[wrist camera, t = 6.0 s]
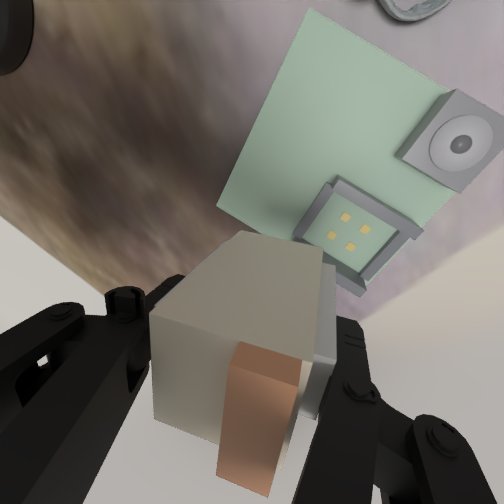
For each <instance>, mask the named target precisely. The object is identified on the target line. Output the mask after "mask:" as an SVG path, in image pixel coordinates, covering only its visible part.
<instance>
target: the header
mask: <svg viewBox="0 0 504 504" xmlns="http://www.w3.org/2000/svg"><path fill="white" fill-rule="evenodd" d="M334 192H336V193H337V194H339V195H341V196H342V197H344V198H346V199H347V200H349V201H351V202H352V203H354V204H356V205H357V206H359V207H361V208H362V209H364V210H365V211H367V212H369V213H370V214H372V215H374V216H375V217H377V218H379V219H380V220H382V221H384V222H385V223H387V224H388V225H390V226H392V227H393V228H395V229H397V231H396V232H395V233H394V234H393V235H392V237H391V238H390V239H389V240H388V241H387V242H386V243H385V244H384V245H383V247H382V248H381V249H380V250H379V251H378V252H377V253H376V254H375V255H374V256H373V258H372V259H371V260H370V261H369V262H368V263H367V264H366V265H365V266H364V268H363V269H362V270H361V271H360V272H359V273H358V272H357V271H355V270H354V269H352V268H350V267H349V266H347V265H345V264H344V263H342V262H341V261H339V260H337V259H336V258H334V257H332V256H331V255H329V254H327V253H326V252H324V251H323V258H322V263H327V264H331V265H335V266H336V283H337V284H338V285H340V286H342V287H343V288H345V289H347V290H348V291H350V292H351V293H353V294H355V295H356V296H358V297H361V296H362V295H363V294H364V293H365V292H366V291H367V290H366V286H365V281H364V279H365V280H366V281H369V280H370V279H371V278H372V277H373V276H374V275H375V274H376V273H377V272H378V271H379V270H380V269H381V268H382V266H383V265H384V264H385V263H386V262H387V261H388V260H389V259H390V258H391V257H392V256H393V255H394V254H395V253H396V252H397V251H398V250H399V249H400V247H401V246H402V245H403V244H404V243H405V242H406V241H407V240H408V239H409V238H412V239H413V240H416V239H417V238H418V237H419V236H420V235H421V233H422V232H423V231H424V230H423V229H422V228H421V227H420V226H419V225H418V224H417V223H416V222H415V221H414V220H412V219H411V218H409V217H407V216H406V215H404V214H402V213H401V212H399V211H397V210H396V209H394V208H392V207H391V206H389V205H387V204H386V203H384V202H382V201H381V200H379V199H378V198H376V197H374V196H373V195H371V194H369V193H368V192H366V191H364V190H363V189H361V188H359V187H358V186H356V185H354V184H353V183H351V182H349V181H348V180H346V179H345V178H343V177H341V176H340V175H337V177H336V178H335V180H334V181H333V183H332V184H330V183H329V182H326V184H325V185H324V187H323V188H322V190H321V191H320V192H319V194H318V195H317V197H316V198H315V200H314V201H313V203H312V204H311V206H310V207H309V209H308V210H307V212H306V213H305V215H304V216H303V218H302V219H301V221H300V222H299V224H298V225H297V227H296V228H295V230H294V231H293V233H292V235H293V236H295V238H294V240H293V241H294V242H299V243H304V244H308V245H313V244H311V243H310V242H308V241H306V240H305V239H303V238H302V237H303V235H304V234H305V233H306V231H307V230H308V228H309V227H310V225H311V224H312V223H313V221H314V220H315V218H316V217H317V215H318V214H319V213H320V211H321V210H322V208H323V207H324V205H325V204H326V203H327V201H328V200H329V198H330V197H331V195H332V194H333V193H334ZM350 218H351V215H349V214H348V213H346V212H344V213H343V214H342V215H341V217H340V218H339V219H341V220H343V221H344V222H346V223H347V222H348V220H349V219H350ZM370 229H371V227H369V226H367V225H366V224H363V226H362V227H361V228H360V229H359V231H361V232H362V233H364V234H365V235H366V234H367V233H368V232H369V231H370ZM337 235H338V234H337V233H335V232H334V231H332V230H330V231H329V233H328V234H327V235H326V237H328V238H329V239H331V240H334V238H335V237H336V236H337ZM313 246H314V245H313ZM356 246H357V245H355V244H353V243H352V242H349V243H348V244H347V245H346V246H345V248H346V249H347V250H349V251H351V252H352V251H353V250H354V249H355V247H356Z"/></svg>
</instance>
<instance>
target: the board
mask: <svg viewBox="0 0 504 504" xmlns="http://www.w3.org/2000/svg"><path fill="white" fill-rule="evenodd" d="M447 92H450V91H449V90H448V89H446V88H444V87H443V86H441V85H439V84H438V83H436V82H434V81H433V80H431V79H429V78H428V77H426V76H424V75H423V74H421V73H419V72H417V71H416V70H414V69H412V68H411V67H409V66H407V65H406V64H404V63H402V62H401V61H399V60H397V59H396V58H394V57H392V56H391V55H389V54H387V53H385V52H384V51H382V50H380V49H379V48H377V47H375V46H374V45H372V44H370V43H369V42H367V41H365V40H364V39H362V38H360V37H358V36H357V35H355V34H353V33H352V32H350V31H348V30H347V29H345V28H343V27H342V26H340V25H338V24H337V23H335V22H333V21H332V20H330V19H328V18H326V17H325V16H323V15H321V14H320V13H318V12H316V11H315V10H313V9H311V8H310V7H309V8H308V10H307V12H306V14H305V16H304V19H303V21H302V23H301V25H300V27H299V29H298V31H297V34H296V36H295V38H294V40H293V42H292V44H291V46H290V49H289V51H288V53H287V55H286V57H285V59H284V61H283V63H282V66H281V68H280V70H279V72H278V74H277V76H276V78H275V81H274V83H273V85H272V87H271V89H270V91H269V93H268V96H267V98H266V100H265V102H264V104H263V106H262V108H261V111H260V113H259V115H258V117H257V119H256V121H255V123H254V126H253V128H252V130H251V132H250V134H249V136H248V138H247V141H246V143H245V145H244V147H243V149H242V151H241V153H240V156H239V158H238V160H237V162H236V164H235V166H234V168H233V171H232V173H231V175H230V177H229V179H228V181H227V183H226V186H225V188H224V190H223V192H222V194H221V196H220V198H219V201H218V203H217V205H216V206H217V207H219V208H220V209H222V210H224V211H225V212H227V213H229V214H230V215H232V216H233V217H235V218H237V219H238V220H240V221H242V222H243V223H245V224H246V225H248V226H250V227H251V228H253V229H255V230H256V231H258V232H260V233H261V234H263V235H266V236H271V237H275V238H280V239H285V240H289V241H293V240H294V238H295V236H293V235H292V233H293V231H294V230H295V228H296V227H297V225H298V224H299V222H300V221H301V219H302V218H303V216H304V215H305V213H306V212H307V210H308V209H309V207H310V206H311V204H312V203H313V201H314V200H315V198H316V197H317V195H318V194H319V192H320V191H321V190H322V188H323V187H324V185H325V184H326V182H329V183H330V184H332V183H333V181H334V180H335V178H336V177H337V175H340V176H341V177H343V178H345V179H346V180H348V181H349V182H351V183H353V184H354V185H356V186H358V187H359V188H361V189H363V190H364V191H366V192H368V193H369V194H371V195H373V196H374V197H376V198H378V199H379V200H381V201H382V202H384V203H386V204H387V205H389V206H391V207H392V208H394V209H396V210H397V211H399V212H401V213H402V214H404V215H406V216H407V217H409V218H411V219H412V220H414V221H415V222H416V223H417V224H418V225H419V226H420V227H421V228H422V227H423V225H424V224H425V223H426V222H427V221H428V220H429V219H430V218H431V217H432V216H433V215H434V214H435V213H436V212H437V211H438V210H439V209H440V208H441V207H442V205H443V204H444V203H445V202H446V201H447V200H448V199H449V198H450V197H451V196H452V195H453V194H454V193H455V191H453V190H451V189H448V188H446V187H444V186H442V185H441V184H439V183H437V182H436V181H434V180H432V179H431V178H429V177H427V176H426V175H424V174H422V173H421V172H419V171H417V170H416V169H414V168H412V167H411V166H409V165H407V164H406V163H404V162H402V161H401V160H399V159H397V158H396V157H394V155H395V153H396V152H397V151H398V149H399V148H400V147H401V146H402V144H403V143H404V142H405V140H406V139H407V138H408V136H409V135H410V134H411V132H412V131H413V130H414V129H415V127H416V126H417V125H418V123H419V122H420V121H421V119H422V118H423V117H424V115H425V114H426V113H427V112H428V110H429V109H430V108H431V106H432V105H433V104H434V102H435V101H436V100H437V98H438V97H439V96H440V95H442V94H444V93H447ZM344 212H346V213H348V214H349V215H351V218H350V219H349V220H348V222H347V223H346V222H344V221H343V220H341V219H339V218H340V217H341V215H342V214H343V213H344ZM363 224H366V225H367V226H369V227H371V229H370V231H369V232H368V233H367V234H366V235H365V234H364V233H362V232H361V231H359V229H360V228H361V227H362V226H363ZM330 230H332V231H334V232H335V233H337V234H338V235H337V236H336V237H335V238H334V240H331V239H329V238H328V237H326V235H327V234H328V233H329V231H330ZM396 231H397V229H395V228H393V227H392V226H390V225H388V224H387V223H385V222H384V221H382V220H380V219H379V218H377V217H375V216H374V215H372V214H370V213H369V212H367V211H365V210H364V209H362V208H361V207H359V206H357V205H356V204H354V203H352V202H351V201H349V200H347V199H346V198H344V197H342V196H341V195H339V194H337V193H336V192H334V193H333V194H332V195H331V197H330V198H329V200H328V201H327V203H326V204H325V205H324V207H323V208H322V210H321V211H320V213H319V214H318V215H317V217H316V218H315V220H314V221H313V223H312V224H311V225H310V227H309V228H308V230H307V231H306V233H305V234H304V235H303V237H302V238H303V239H305V240H306V241H308V242H310V243H311V244H313V245H314V246H318V247H322V248H323V251H324V252H326V253H327V254H329V255H331V256H332V257H334V258H336V259H337V260H339V261H341V262H342V263H344V264H345V265H347V266H349V267H350V268H352V269H354V270H355V271H357V272H358V273H359V272H360V271H361V270H362V269H363V268H364V266H365V265H366V264H367V263H368V262H369V261H370V260H371V259H372V258H373V256H374V255H375V254H376V253H377V252H378V251H379V250H380V249H381V248H382V247H383V245H384V244H385V243H386V242H387V241H388V240H389V239H390V238H391V237H392V235H393V234H394V233H395V232H396ZM410 239H411V238H409V239H408V240H407V241H406V242H405V243H404V244H403V245H402V246H401V247H400V249H399V250H398V251H397V252H396V253H395V254H394V255H393V256H392V257H391V258H390V259H389V260H388V261H387V262H386V263H385V264H384V265H383V266H382V268H381V269H380V270H379V271H378V272H377V273H376V274H375V275H374V276H373V277H372V278H371V279H370V280H369V281H366V280H365V279H364V281H365V286H366V285H367V284H368V283H369V282H370V281H371V280H372V279H373V278H374V277H375V276H376V275H377V274H378V273H379V272H380V271H381V270H382V269H383V268H384V266H385V265H386V264H387V263H388V262H389V261H390V260H391V259H392V258H393V257H394V256H395V255H396V254H397V253H398V252H399V251H400V250H401V249H402V248H403V247H404V245H405V244H406V243H407V242H408V241H409V240H410ZM349 242H352V243H353V244H355V245H357V246H356V247H355V249H354V250H353V251H352V252H351V251H349V250H347V249H346V248H345V246H346V245H347V244H348V243H349Z"/></svg>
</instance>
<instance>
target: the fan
mask: <svg viewBox="0 0 504 504" xmlns="http://www.w3.org/2000/svg"><path fill="white" fill-rule="evenodd" d="M503 148H504V116H502V115H501V114H499V113H497V112H496V111H494V110H492V109H491V108H489V107H487V106H485V105H484V104H482V103H480V102H479V101H477V100H475V99H474V98H472V97H470V96H469V95H467V94H465V93H464V92H462V91H460V90H459V89H455V90H452V91H450V92H447V93H444V94H442V95H440V96H439V97H438V98H437V100H436V101H435V102H434V104H433V105H432V106H431V108H430V109H429V110H428V112H427V113H426V114H425V115H424V117H423V118H422V119H421V121H420V122H419V123H418V125H417V126H416V127H415V129H414V130H413V131H412V132H411V134H410V135H409V136H408V138H407V139H406V140H405V142H404V143H403V144H402V146H401V147H400V148H399V149H398V151H397V152H396V153H395V155H394V157H396V158H397V159H399V160H401V161H402V162H404V163H406V164H407V165H409V166H411V167H412V168H414V169H416V170H417V171H419V172H421V173H422V174H424V175H426V176H427V177H429V178H431V179H432V180H434V181H436V182H437V183H439V184H441V185H442V186H444V187H446V188H448V189H451V190H453V191H455V192H458V193H461V192H462V191H463V190H464V189H465V188H466V187H467V186H468V185H469V184H470V183H471V182H472V181H473V179H474V178H475V177H476V176H477V175H478V174H479V173H480V172H481V171H482V170H483V169H484V168H485V167H486V166H487V165H488V164H489V163H490V162H491V161H492V160H493V159H494V158H495V157H496V156H497V155H498V154H499V153H500V151H501V150H502V149H503Z"/></svg>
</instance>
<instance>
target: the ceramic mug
mask: <svg viewBox="0 0 504 504" xmlns="http://www.w3.org/2000/svg"><path fill="white" fill-rule="evenodd" d="M379 1H380V3H381V4H382V6H383V7H384V9H385V10H386V12H387V13H388V14H389V15H391V16H392V17H393V18H395V19H398V20H402V21H418V20H421V19H424V18H426V17H428V16H430V15H432V14H434V13H436V12H437V11H439V10H440V9H442V8H443V7H445V6H446V5H447V4H448V3H449V2H450V1H451V0H428V1H426V2H424V3H422V4H416V5H414V6H413V7H412V9H411V10H408V11H406V12H405V11H403V10H401V9H400V8H399V7H397V6H395V3H394V2H393V0H379Z"/></svg>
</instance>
